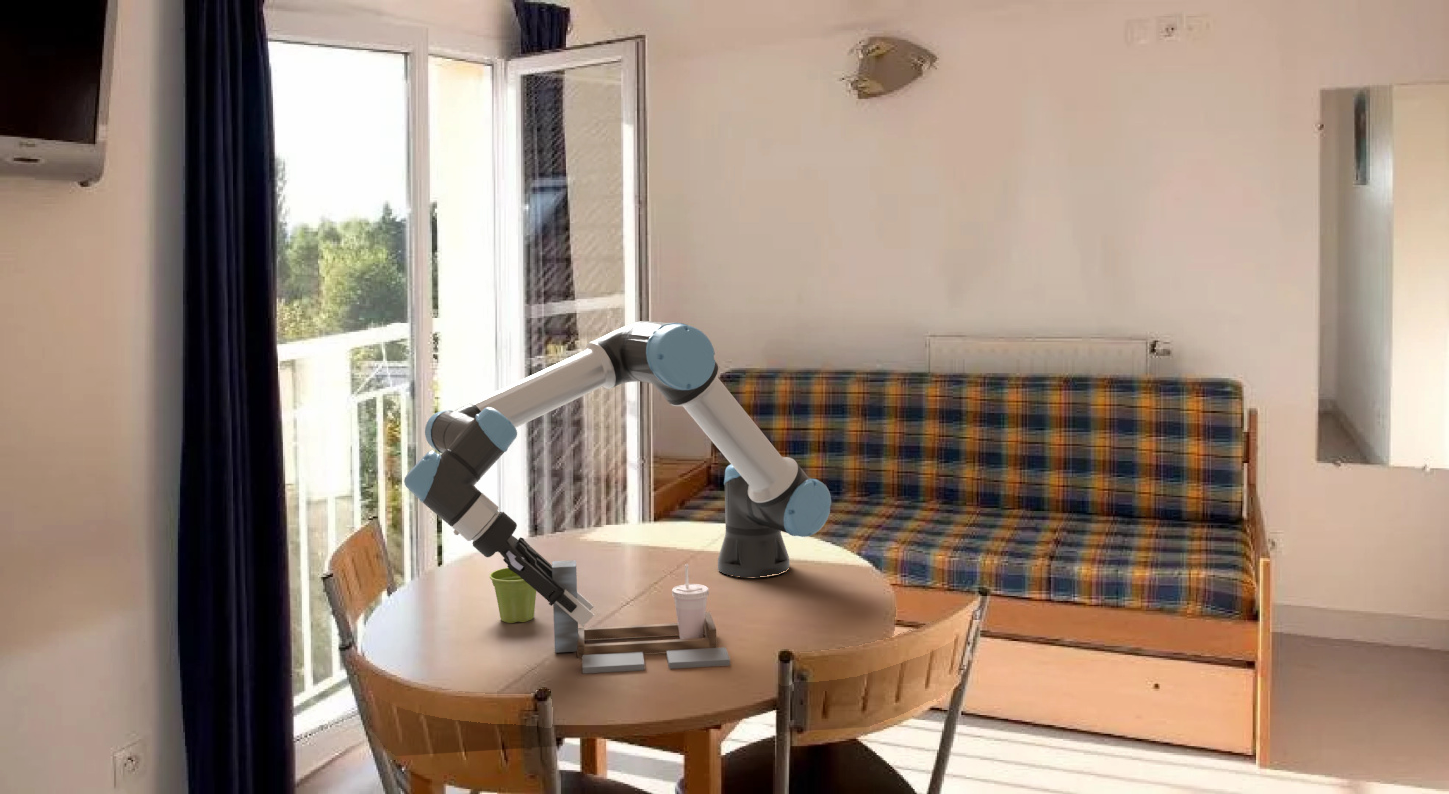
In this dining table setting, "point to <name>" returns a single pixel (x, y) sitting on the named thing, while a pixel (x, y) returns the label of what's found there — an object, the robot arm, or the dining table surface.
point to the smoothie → (690, 608)
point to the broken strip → (636, 660)
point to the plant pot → (513, 596)
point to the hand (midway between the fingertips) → (588, 616)
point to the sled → (616, 627)
